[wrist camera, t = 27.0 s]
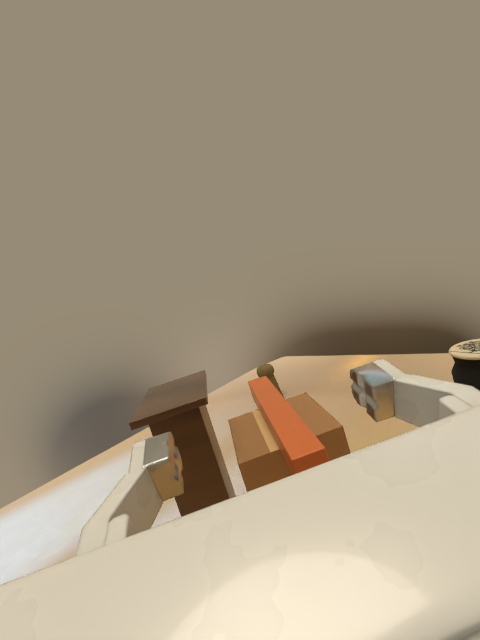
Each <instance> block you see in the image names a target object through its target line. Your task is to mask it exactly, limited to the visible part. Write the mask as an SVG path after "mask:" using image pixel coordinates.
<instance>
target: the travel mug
mask: <svg viewBox="0 0 480 640" xmlns="http://www.w3.org/2000/svg"><path fill="white" fill-rule="evenodd" d="M449 354H450V355H451V356H452V357H453V359H454V361H455V363H454V366H453V369H452V375H453V380H454V383H459V384H464V385H469V386H473V387H474V388H476V389H478V390H479V391H480V339H475V340H469V341H465V342H461V343H458V344H456V345H454V346H452V347H451V348H450V349H449Z"/></svg>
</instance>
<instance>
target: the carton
mask: <svg viewBox="0 0 480 640" xmlns="http://www.w3.org/2000/svg"><path fill="white" fill-rule="evenodd" d="M286 401H287V402H288V403H289V404H290V406H291V407H292V408H293V409H294V410H295V412H296V413H297V414H298V415H299V417H300V418H301V419H302V420H303V421H304V423H305V424H306V425H307V426H308V427H309V429H310V430H311V431H312V432H313V433H314V435H315V436H316V437H317V438H318V440H319V441H320V442H321V443H322V444H323V446H324V447H325V448H326V452H327V455H328V458H329V461H331V460H334V459H337V458H339V457H342V456H344V455H347V454H350V450H349V446H348V443H347V439H346V436H345V432H344V429H343V426H342V425H341V424H340V423H339V422H338V421H337V420H336V419H335V418H333V417H332V416H331V415H330V414H329V413H328V412H327V411H326V410H325V409H323V408H322V407H321V406H320V405H319V404H318V403H317V402H316V401H315V400H313V399H312V398H311V397H310V396H309V395H308V394H307V393H304V394H301V395H298V396H295V397H292V398H289V399H287V400H286ZM228 421H229V425H230V430H231V434H232V439H233V443H234V447H235V452H236V456H237V461H238V465H239V468H240V471H241V474H242V477H243V480H244V483H245V487H246V490H247V492H249V491H252V490H254V489H257V488H260V487H262V486H265V485H268V484H270V483H273V482H276V481H278V480H281V479H283V478H286V477H289V476H291V475H292V473H291V471H290V469H289V467H288V465H287V463H286V461H285V459H284V457H283V455H282V454H281V452H280V450H279V448H278V446H277V444H276V442H275V440H274V438H273V436H272V434H271V432H270V430H269V428H268V426H267V424H266V422H265V420H264V418H263V416H262V415H261V413H260V411H259V409H257V410H254V411H252V412H250V413H247V414H244V415H241V416H238V417H236V418H233V419H230V420H228Z"/></svg>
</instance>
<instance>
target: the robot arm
mask: <svg viewBox="0 0 480 640" xmlns="http://www.w3.org/2000/svg"><path fill="white" fill-rule="evenodd" d="M350 378H351V379H352V380H353V381H354V382H353V384H352V386H351V388H352V393H353V396H354V398H355V400H356V401H357V403H358V404H359V405H360V406H361V407H365V408H367V413H368V414H369V415H370V416H371V417H372V418H373V419H374V420H375V421H376V422H379V421H382V420H385V419H388V418H391V417H394V416H395V417H396V418H399V419H401V420H404V421H406V422H409V423H411V424H413V425H416V426H418V427H419V428H416V429H414V430H411V431H408V432H406V433H403V434H400V435H398V436H395V437H392V438H390V439H387V440H384V441H382V442H379V443H376V444H374V445H371V446H368V447H366V448H363V449H360V450H358V451H355V452H352V453H350V454H347V455H344V456H342V457H339V458H337V459H334V460H331V461H329V462H326V463H323V464H321V465H318V466H315V467H313V468H310V469H307V470H305V471H302V472H299V473H297V474H294V475H291V476H289V477H286V478H283V479H281V480H278V481H276V482H273V483H270V484H268V485H265V486H262V487H260V488H257V489H254V490H252V491H249V492H246V493H244V494H241V495H238V496H236V497H233V498H230V499H228V500H225V501H222V502H220V503H217V504H214V505H212V506H209V507H206V508H204V509H201V510H198V511H196V512H193V513H190V514H188V515H185V516H182V517H180V518H177V519H174V520H172V521H169V522H166V523H164V524H161V525H159V526H156V527H153V528H151V526H152V524H153V522H154V520H155V518H156V516H157V514H158V512H159V510H160V508H161V506H162V504H163V501H165V500H168V499H170V498H173V497H175V496H178V495H180V494H183V493H184V485H183V477H182V475H181V472H182V471H183V467H182V460H181V456H180V452H179V450H178V447H176V446H175V445H174V438H173V435H172V433H171V432H166V433H163V434H160V435H157V436H154V437H151V438H148V439H145V440H142V441H139V442H136V443H134V444H133V447H132V454H131V460H130V466H129V473H128V474H126V475H124V477H123V478H122V479H121V480H120V482H119V483H118V484H117V485H116V487H115V488H114V489H113V490H112V492H111V493H110V494H109V495H108V497H107V498H106V499H105V501H104V502H103V503H102V504H101V506H100V507H99V508H98V509H97V511H96V512H95V513H94V514H93V516H92V517H91V518H90V519H89V521H88V522H87V523H86V524H85V526H84V527H83V528H82V532H81V535H80V539H79V542H78V546H77V550H76V553H75V557H73V558H71V559H68V560H65V561H63V562H60V563H58V564H55V565H52V566H50V567H47V568H44V569H42V570H39V571H36V572H34V573H31V574H28V575H26V576H23V577H20V578H18V579H15V580H12V581H10V582H7V583H4V584H2V585H0V640H480V391H479V390H478V389H476V388H474V387H473V386H469V385H464V384H459V383H454V382H449V381H443V380H438V379H433V378H428V377H423V376H417V375H412V374H409V375H406V374H405V373H403V372H402V371H400V370H399V369H398V368H396V367H395V366H393V365H392V364H390V363H389V362H387V361H386V360H384V359H379V360H376V361H373V362H371V363H369V364H366V365H363V366H360V367H357V368H354V369H352V370H350ZM150 528H151V529H150Z"/></svg>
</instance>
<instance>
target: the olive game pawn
mask: <svg viewBox="0 0 480 640" xmlns="http://www.w3.org/2000/svg"><path fill="white" fill-rule="evenodd" d="M273 373H274V368H273V366H272V365H270V364H265V365H262V366H260V367H258V368H257V375H258V376H259V377H263V376H266V377H267V378H268V379H269V380H270V381H271V383H272V384H273V385H274V386H275V387H276V389H277V390H278V391H279V392H280V394H281V395H282V396H283V394H282V392H281V390H280V388H279V386H278V383H277V381H276V379H275V377H274V375H273Z"/></svg>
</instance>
